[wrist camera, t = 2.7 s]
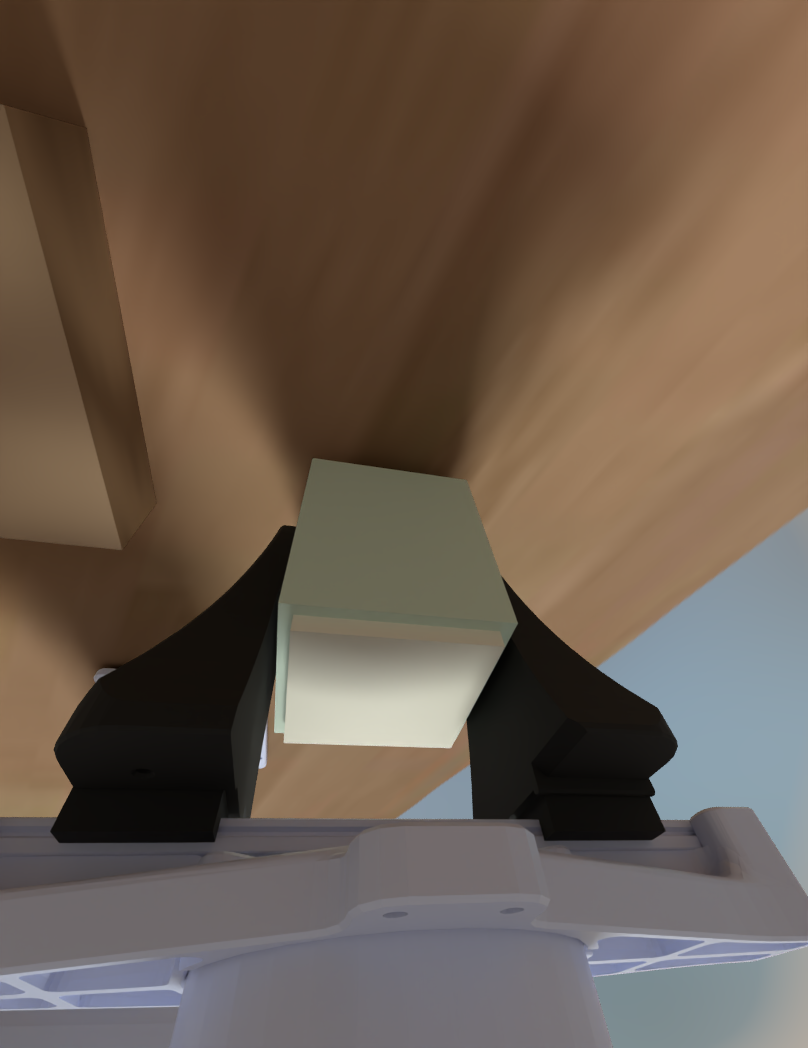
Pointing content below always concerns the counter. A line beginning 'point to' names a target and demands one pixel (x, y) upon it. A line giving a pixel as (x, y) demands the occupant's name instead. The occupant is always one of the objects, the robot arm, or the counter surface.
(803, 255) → the counter surface
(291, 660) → the tea tin
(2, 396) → the walnut block
